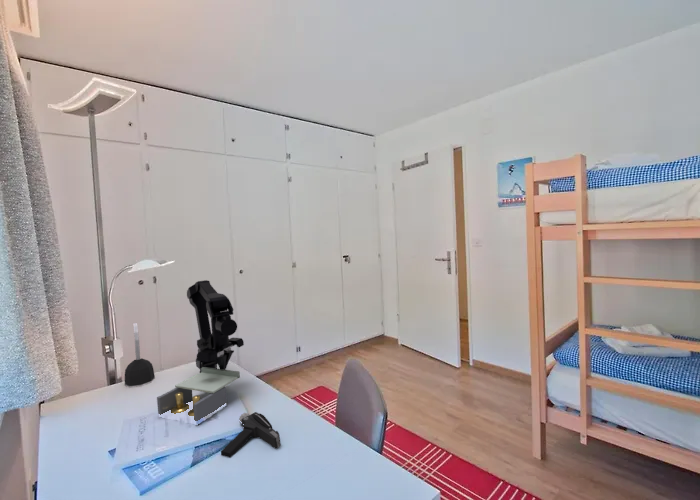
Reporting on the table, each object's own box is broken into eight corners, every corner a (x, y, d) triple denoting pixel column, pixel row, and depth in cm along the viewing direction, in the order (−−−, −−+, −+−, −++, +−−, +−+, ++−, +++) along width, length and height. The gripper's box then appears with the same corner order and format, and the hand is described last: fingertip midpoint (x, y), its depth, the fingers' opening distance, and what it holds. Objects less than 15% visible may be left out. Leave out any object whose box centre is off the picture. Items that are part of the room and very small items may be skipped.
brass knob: (197, 410, 118) (196, 391, 118) (210, 413, 116) (209, 393, 116) (184, 419, 113) (182, 399, 113) (197, 421, 111) (195, 401, 111)
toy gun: (232, 461, 88) (284, 430, 97) (203, 426, 103) (250, 402, 113) (235, 477, 88) (286, 445, 98) (206, 441, 104) (253, 416, 114)
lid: (203, 372, 134) (203, 367, 134) (239, 377, 127) (239, 371, 127) (175, 387, 122) (174, 381, 122) (213, 393, 115) (212, 386, 115)
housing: (190, 400, 127) (188, 381, 127) (227, 407, 121) (225, 386, 121) (158, 419, 115) (156, 397, 115) (197, 427, 109) (196, 404, 109)
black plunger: (124, 381, 149) (119, 323, 148) (153, 374, 155) (149, 318, 154) (124, 390, 140) (119, 328, 138) (156, 382, 146) (151, 323, 144)
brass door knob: (181, 407, 121) (179, 389, 121) (193, 409, 119) (191, 391, 119) (167, 415, 116) (165, 396, 116) (179, 418, 114) (178, 398, 114)
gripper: (220, 322, 142) (223, 360, 143) (183, 336, 125) (186, 379, 126) (243, 324, 138) (245, 363, 139) (207, 338, 121) (211, 382, 121)
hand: (223, 371), depth 131 cm, fingers closed
